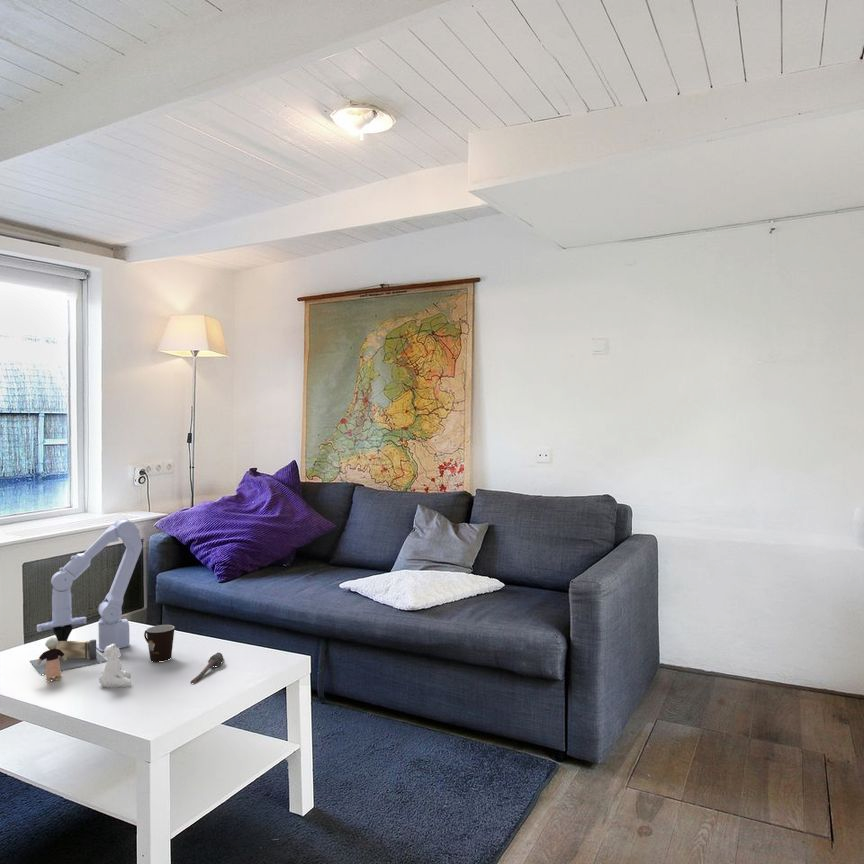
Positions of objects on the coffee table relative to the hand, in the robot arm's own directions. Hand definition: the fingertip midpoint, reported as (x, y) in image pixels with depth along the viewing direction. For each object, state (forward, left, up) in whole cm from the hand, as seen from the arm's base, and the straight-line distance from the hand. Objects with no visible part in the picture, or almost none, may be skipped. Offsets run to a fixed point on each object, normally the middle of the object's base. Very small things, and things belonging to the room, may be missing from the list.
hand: (62, 648), depth 228 cm
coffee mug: (-23, +25, -2) cm, 34 cm away
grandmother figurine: (+8, +23, -2) cm, 24 cm away
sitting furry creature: (-5, +40, -2) cm, 40 cm away
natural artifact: (-31, +47, -3) cm, 56 cm away
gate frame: (0, +8, -2) cm, 9 cm away
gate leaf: (-1, +7, -1) cm, 7 cm away
